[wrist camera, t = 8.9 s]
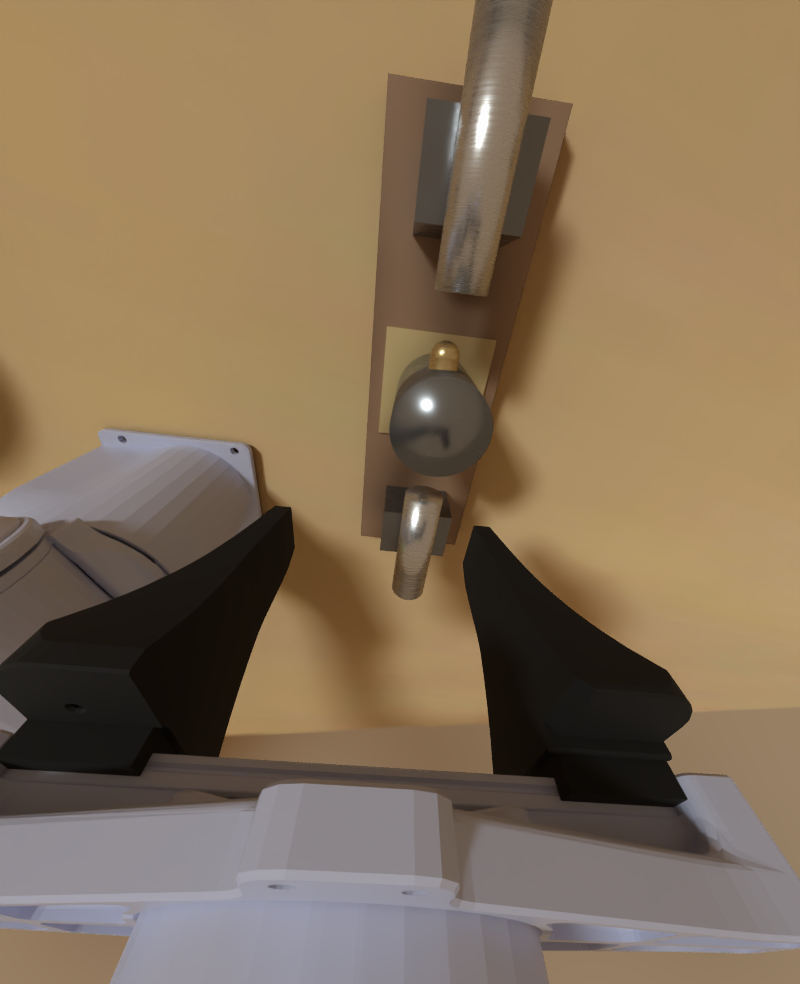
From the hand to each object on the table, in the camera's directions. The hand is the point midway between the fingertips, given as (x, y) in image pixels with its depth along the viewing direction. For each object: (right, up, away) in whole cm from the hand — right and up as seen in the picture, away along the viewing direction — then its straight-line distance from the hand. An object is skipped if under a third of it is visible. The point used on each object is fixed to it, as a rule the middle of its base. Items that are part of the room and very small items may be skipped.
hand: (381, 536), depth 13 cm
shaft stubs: (+3, +8, +5) cm, 9 cm away
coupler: (+3, +7, +5) cm, 9 cm away
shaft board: (+3, +8, +6) cm, 10 cm away
